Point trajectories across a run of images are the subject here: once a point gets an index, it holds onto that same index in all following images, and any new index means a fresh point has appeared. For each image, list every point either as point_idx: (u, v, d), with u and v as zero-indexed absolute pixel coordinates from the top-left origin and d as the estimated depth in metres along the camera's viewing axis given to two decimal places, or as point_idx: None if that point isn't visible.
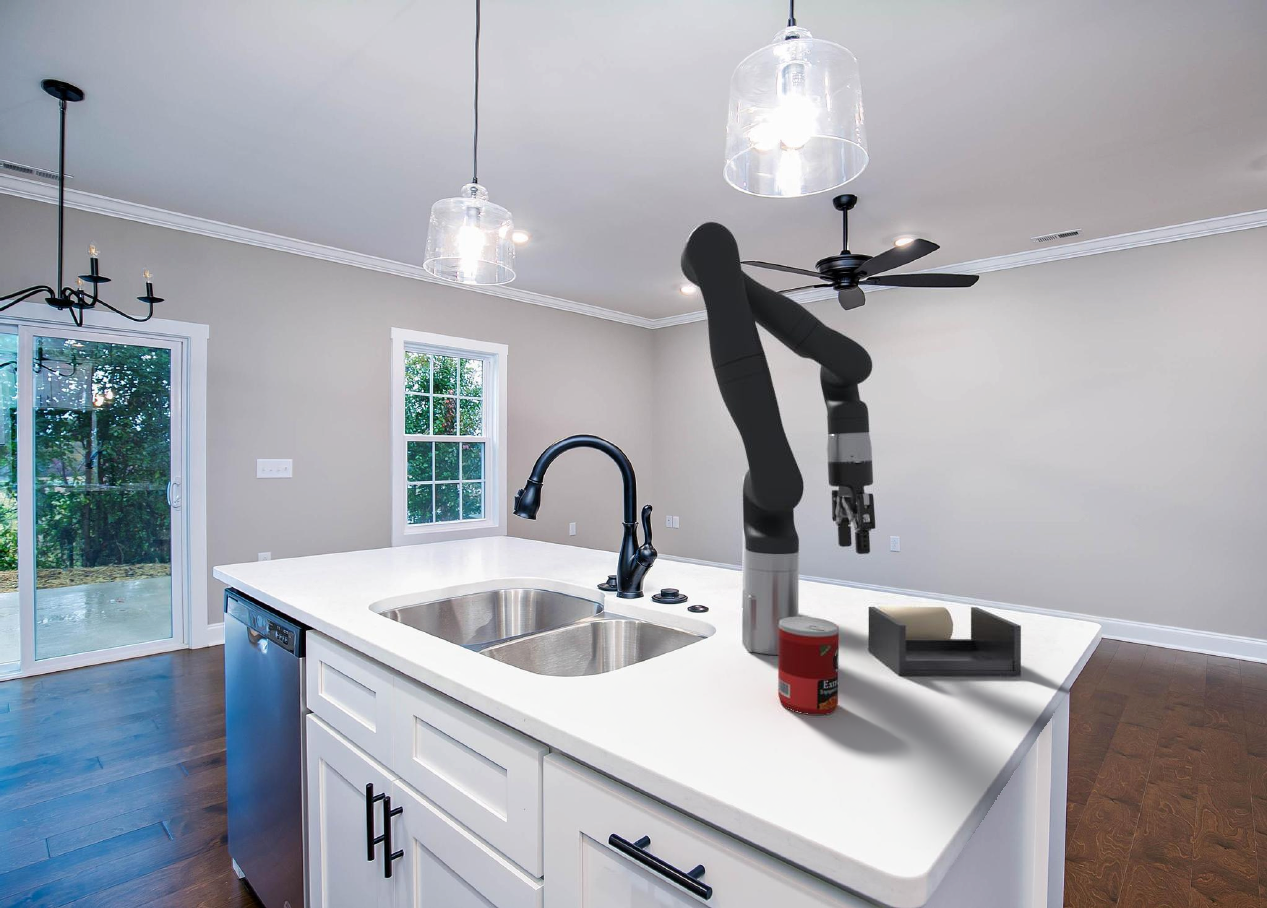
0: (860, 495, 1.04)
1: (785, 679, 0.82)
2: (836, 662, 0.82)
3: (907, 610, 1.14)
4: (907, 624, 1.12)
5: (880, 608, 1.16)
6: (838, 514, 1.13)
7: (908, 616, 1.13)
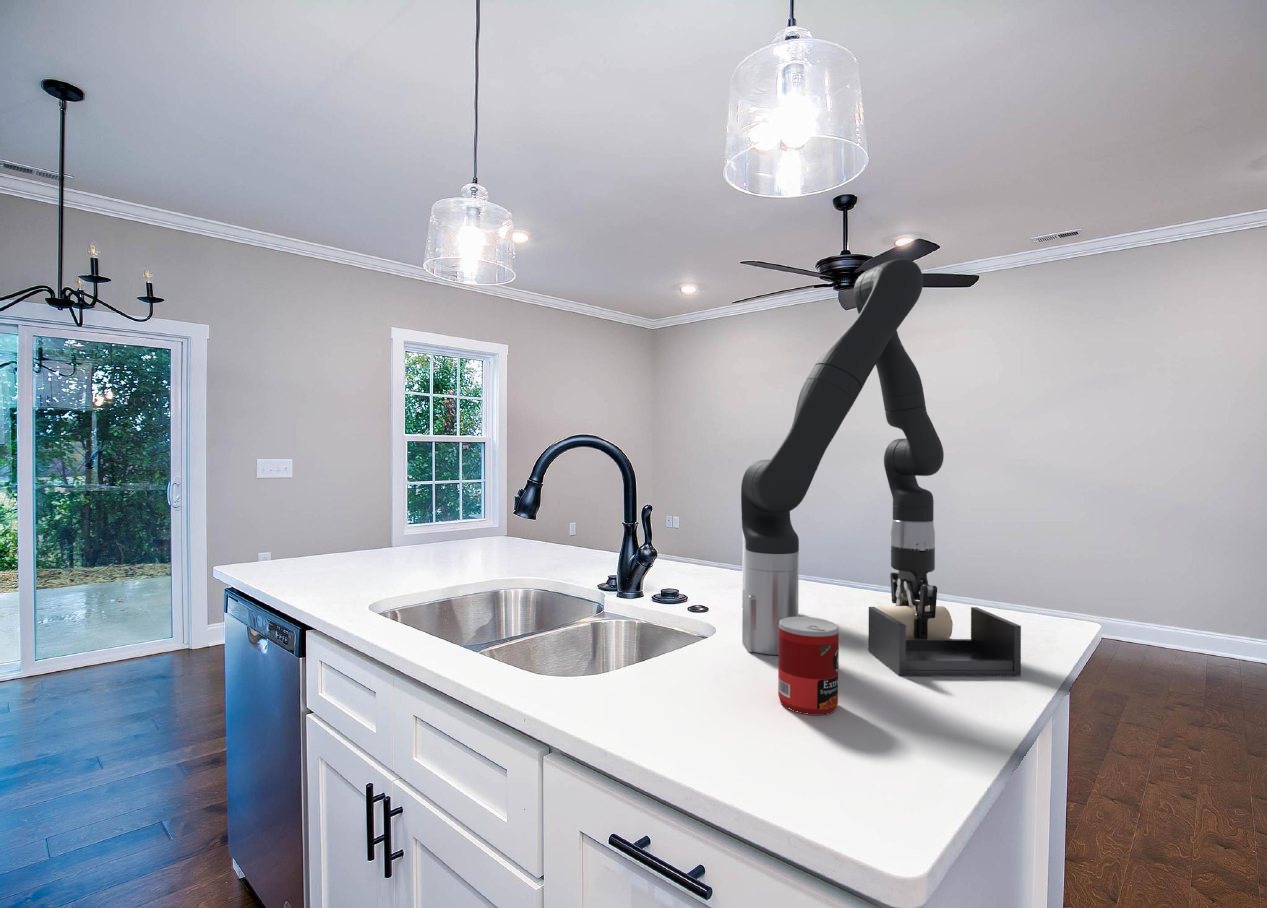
0: (925, 588, 1.09)
1: (785, 679, 0.82)
2: (836, 662, 0.82)
3: (906, 609, 1.14)
4: (907, 624, 1.13)
5: (880, 607, 1.16)
6: (899, 596, 1.18)
7: (907, 616, 1.13)
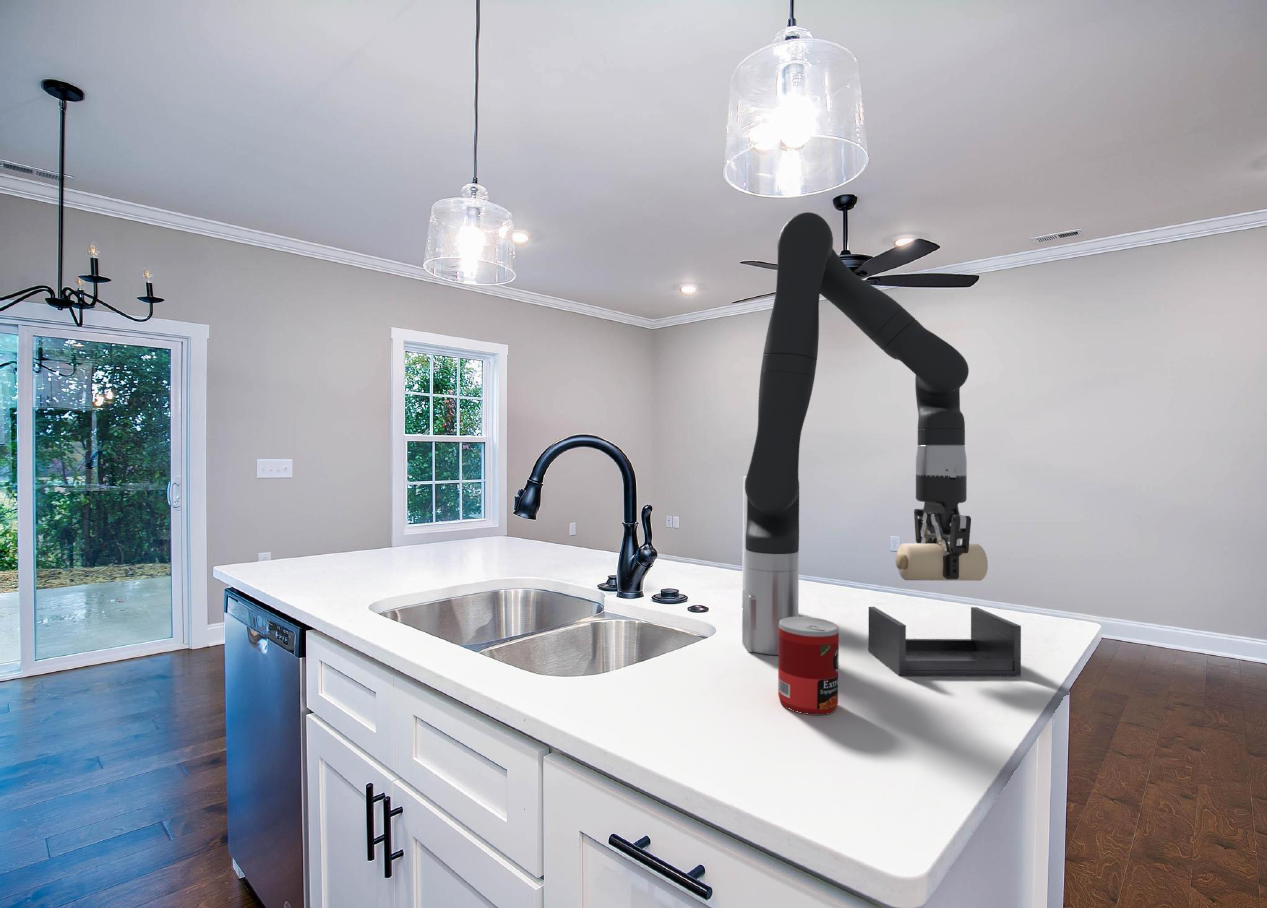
0: (957, 518, 0.95)
1: (785, 679, 0.82)
2: (836, 662, 0.82)
3: (935, 546, 1.00)
4: (936, 561, 0.99)
5: (904, 545, 1.02)
6: (925, 533, 1.04)
7: (936, 553, 0.99)
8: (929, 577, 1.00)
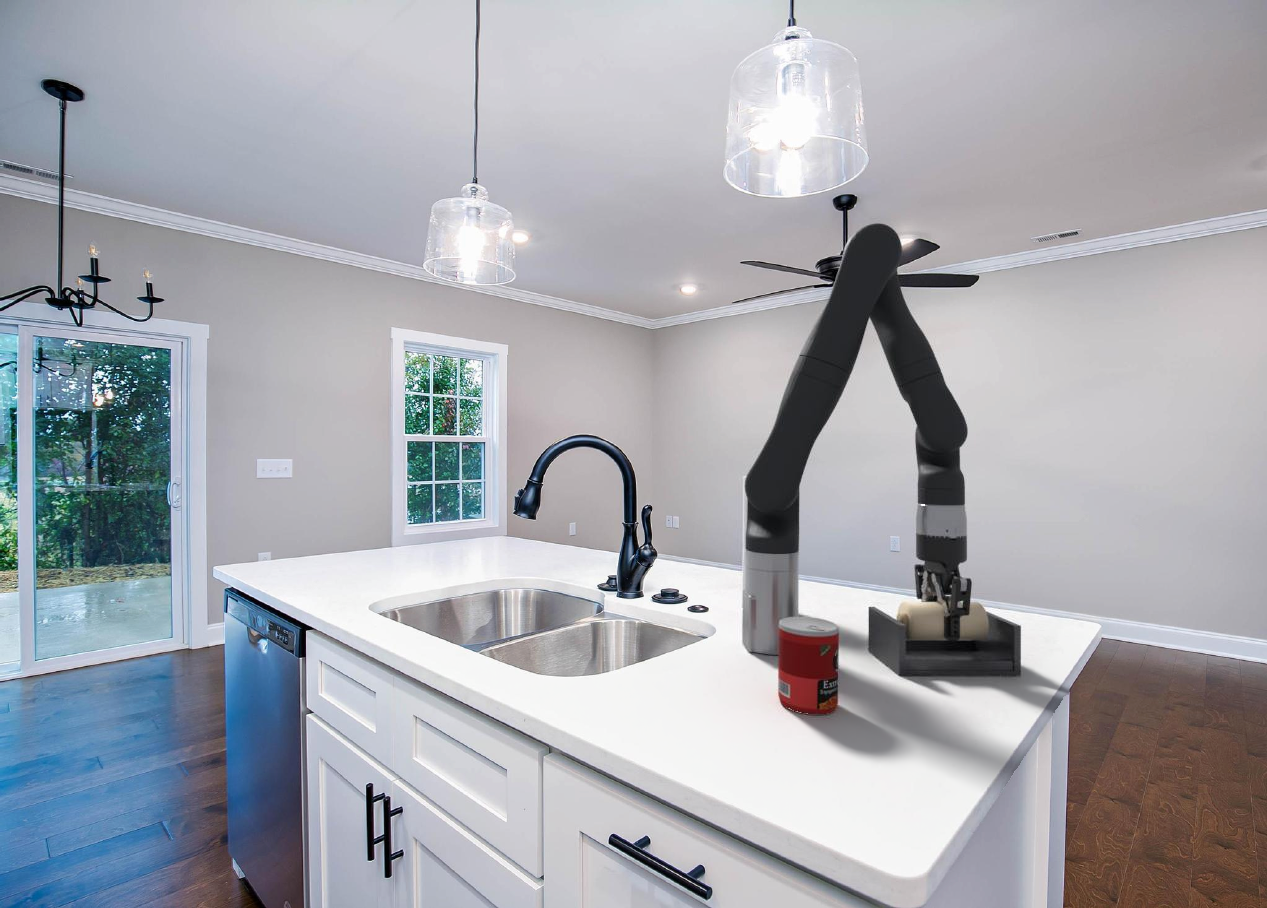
0: (957, 580, 0.95)
1: (785, 679, 0.82)
2: (836, 662, 0.82)
3: (936, 605, 1.00)
4: (937, 622, 0.99)
5: (905, 604, 1.02)
6: (925, 591, 1.04)
7: (937, 613, 0.99)
8: (930, 637, 0.99)
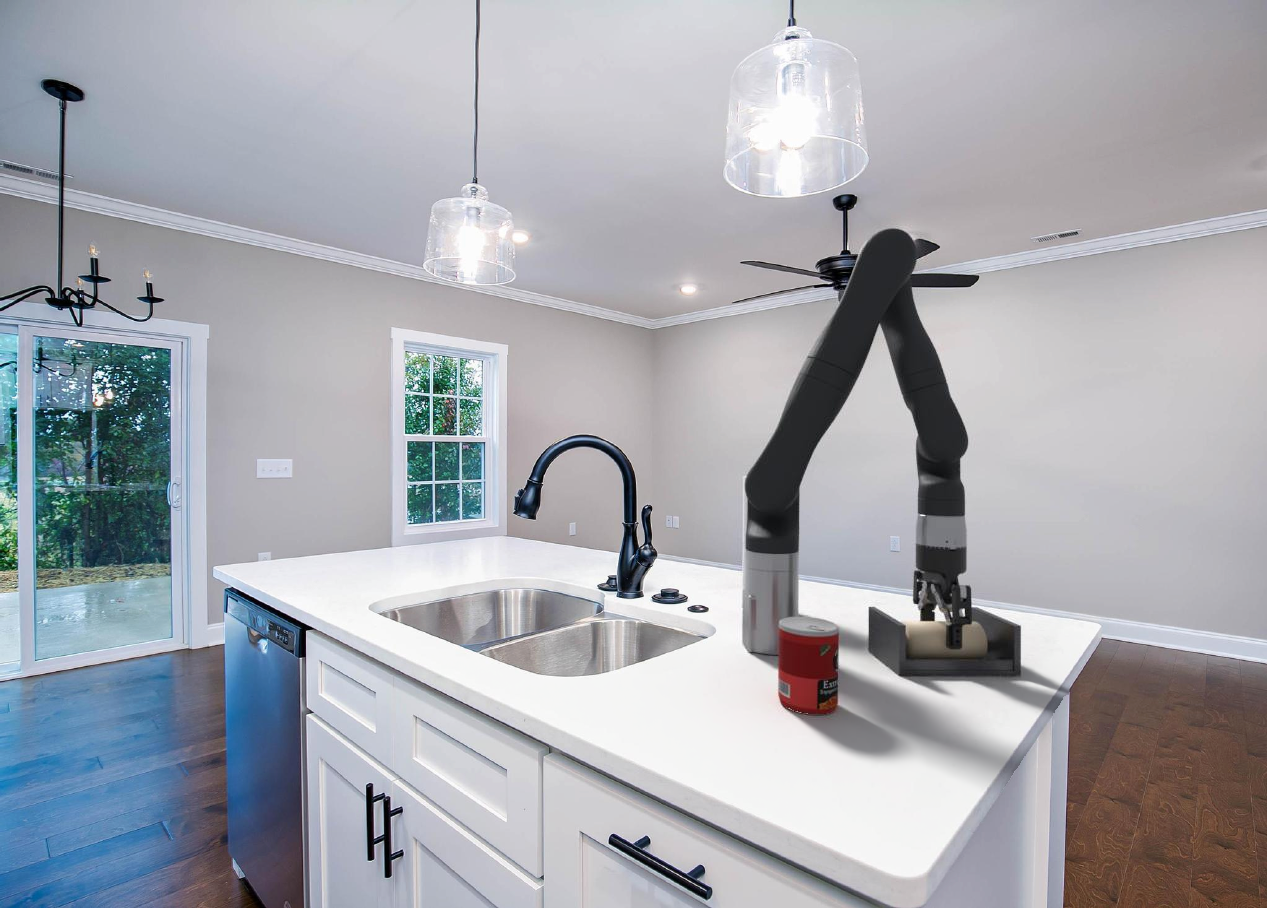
0: (957, 587, 0.95)
1: (785, 679, 0.82)
2: (836, 662, 0.82)
3: (935, 625, 1.00)
4: (935, 642, 0.98)
5: (904, 623, 1.01)
6: (923, 599, 1.04)
7: (936, 634, 0.99)
8: (929, 657, 0.99)
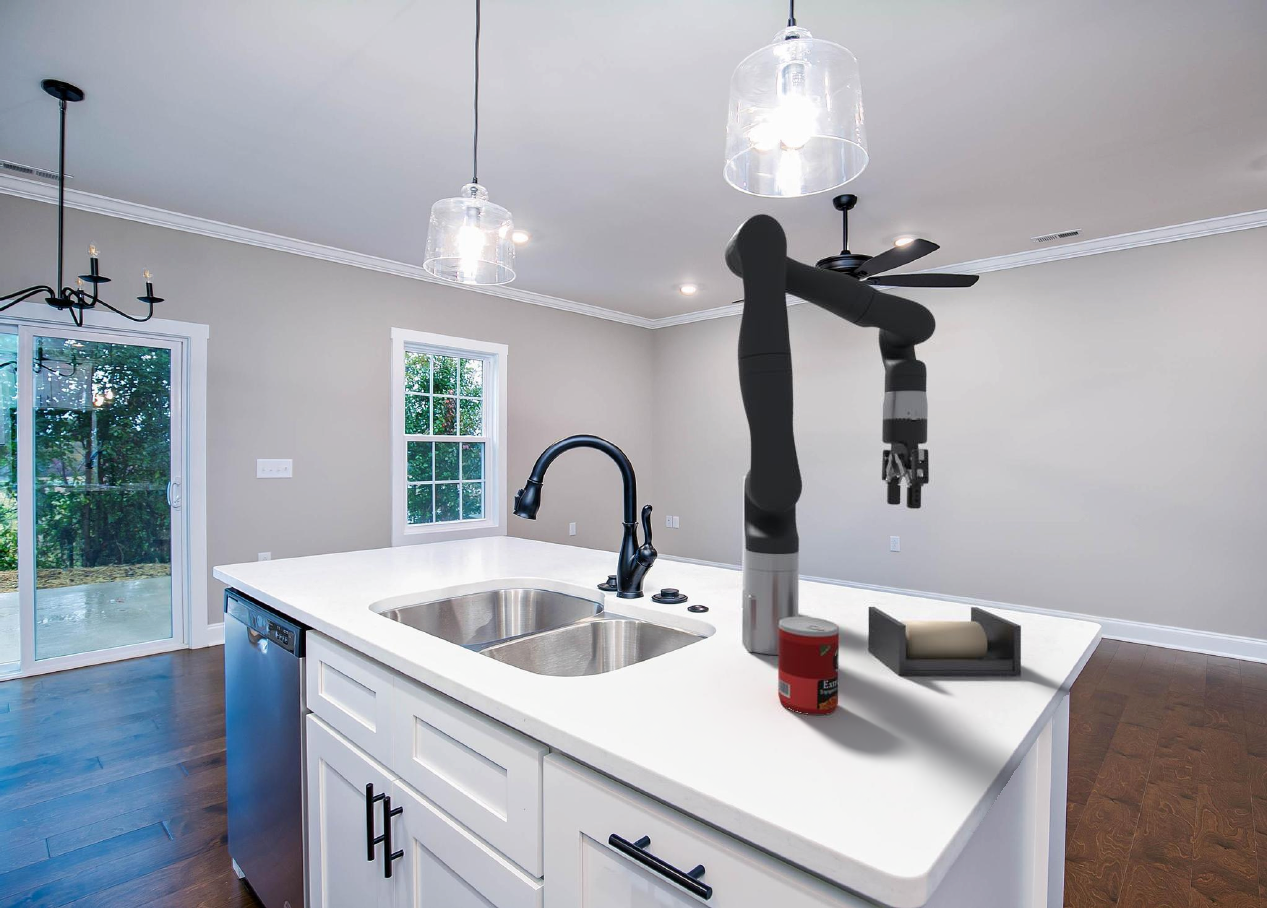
0: (915, 450, 1.06)
1: (785, 679, 0.82)
2: (836, 662, 0.82)
3: (934, 625, 1.00)
4: (935, 642, 0.99)
5: (904, 623, 1.02)
6: (889, 472, 1.15)
7: (936, 633, 0.99)
8: (929, 657, 0.99)
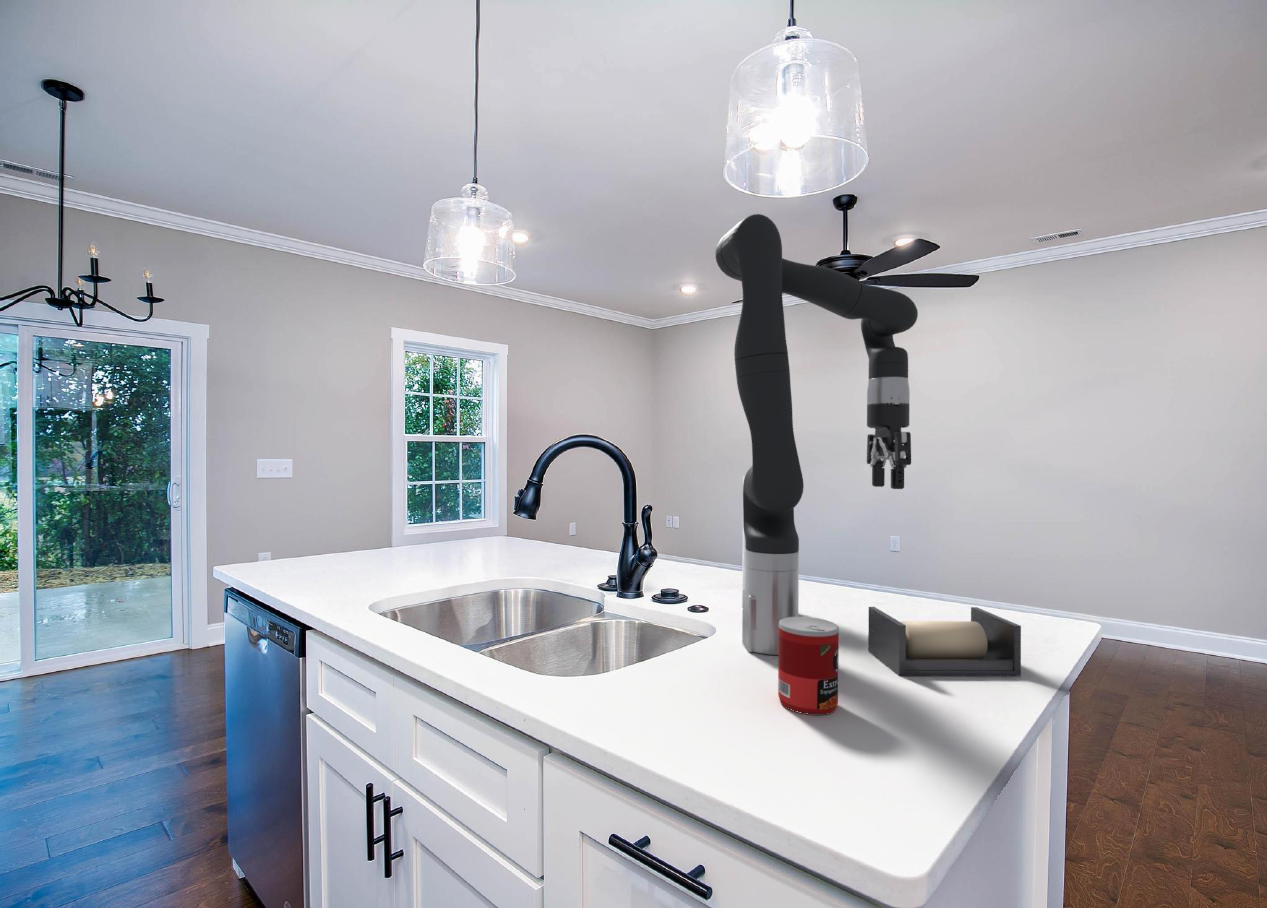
0: (898, 433, 1.11)
1: (785, 679, 0.82)
2: (836, 662, 0.82)
3: (935, 625, 1.00)
4: (935, 642, 0.98)
5: (904, 623, 1.02)
6: (874, 455, 1.20)
7: (936, 634, 0.99)
8: (929, 657, 0.99)
